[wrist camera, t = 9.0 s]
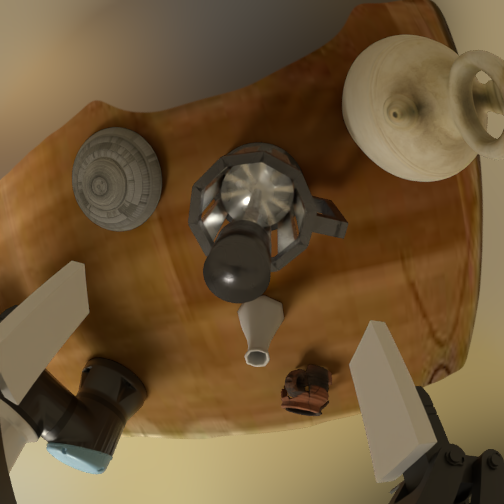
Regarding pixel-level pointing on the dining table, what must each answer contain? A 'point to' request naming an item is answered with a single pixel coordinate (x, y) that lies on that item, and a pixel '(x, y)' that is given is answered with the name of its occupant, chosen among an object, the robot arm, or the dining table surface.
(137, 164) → the flying saucer
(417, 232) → the dining table surface
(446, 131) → the jug
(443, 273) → the dining table surface
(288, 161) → the press carafe
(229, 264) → the plunger
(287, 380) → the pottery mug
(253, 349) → the flask
